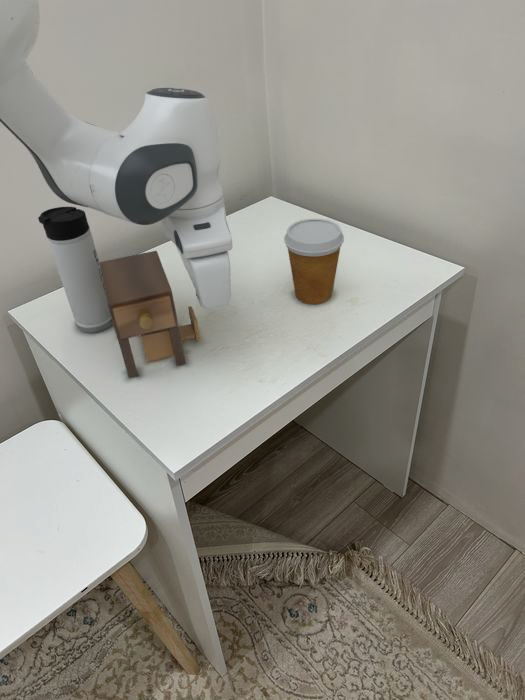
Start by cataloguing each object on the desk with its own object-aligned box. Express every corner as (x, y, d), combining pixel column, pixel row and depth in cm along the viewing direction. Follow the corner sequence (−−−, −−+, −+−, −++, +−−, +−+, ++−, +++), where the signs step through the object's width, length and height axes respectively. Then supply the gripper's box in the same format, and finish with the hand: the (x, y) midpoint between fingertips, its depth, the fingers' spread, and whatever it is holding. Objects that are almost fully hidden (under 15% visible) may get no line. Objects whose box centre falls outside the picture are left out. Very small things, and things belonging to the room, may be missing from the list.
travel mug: (67, 325, 90) (28, 213, 78) (100, 307, 94) (67, 197, 81) (90, 339, 87) (52, 224, 74) (123, 319, 91) (92, 207, 78)
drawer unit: (130, 386, 78) (109, 312, 70) (119, 332, 88) (99, 261, 80) (188, 371, 80) (174, 297, 71) (170, 320, 90) (156, 250, 82)
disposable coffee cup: (351, 288, 94) (354, 224, 87) (324, 316, 88) (325, 250, 81) (304, 274, 99) (303, 212, 91) (275, 300, 93) (272, 236, 85)
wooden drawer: (147, 362, 82) (141, 336, 78) (140, 335, 87) (134, 309, 84) (203, 349, 83) (199, 322, 80) (193, 323, 89) (188, 297, 86)
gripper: (156, 192, 81) (170, 272, 90) (186, 254, 66) (199, 344, 74) (198, 185, 82) (208, 265, 91) (236, 244, 67) (243, 333, 76)
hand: (204, 301), depth 83 cm, fingers closed
